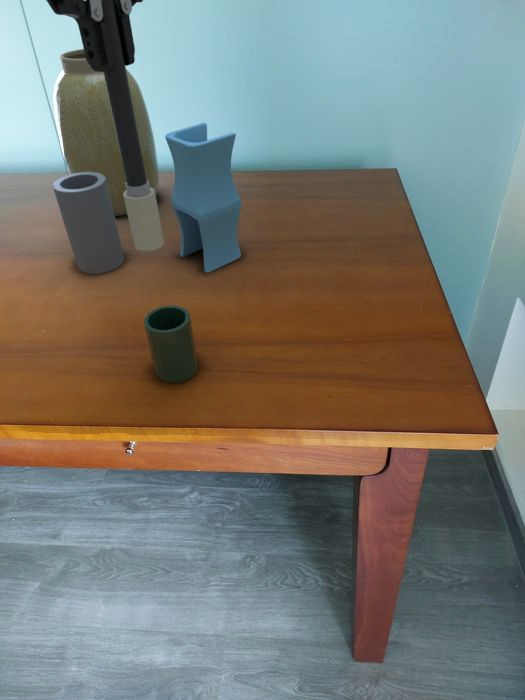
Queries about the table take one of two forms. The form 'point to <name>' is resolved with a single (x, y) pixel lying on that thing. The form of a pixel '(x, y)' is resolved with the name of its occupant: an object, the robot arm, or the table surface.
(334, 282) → the table surface
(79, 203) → the cup
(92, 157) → the vase
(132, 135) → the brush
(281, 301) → the table surface
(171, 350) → the holder
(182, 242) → the blue bent piece
